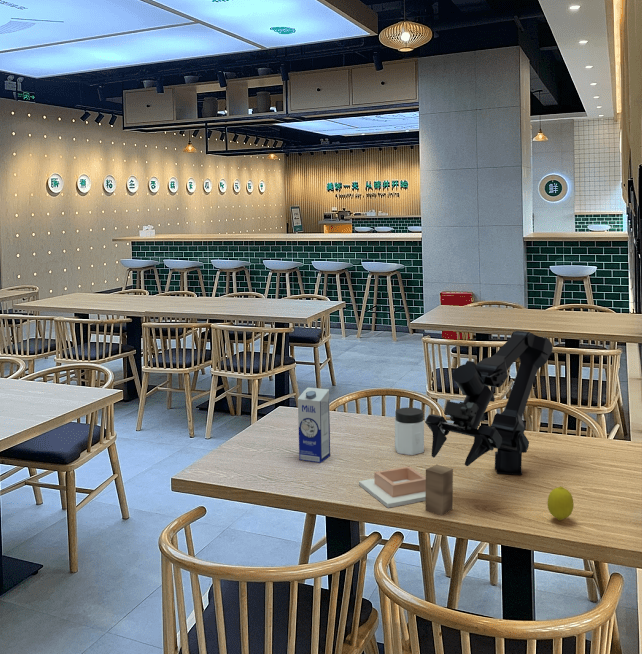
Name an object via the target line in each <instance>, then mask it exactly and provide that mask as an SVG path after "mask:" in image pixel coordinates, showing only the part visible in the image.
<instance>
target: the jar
mask: <svg viewBox="0 0 642 654" xmlns="http://www.w3.org/2000/svg"><path fill="white" fill-rule="evenodd" d="M424 417H425V416H424V410H423V409H421V408H416V407H400V408H397V409H395V417H394V449H395V451H396V453H397V454H400V455H407V456H415V455H418V454H421V453H424V452H425V421H424Z"/></svg>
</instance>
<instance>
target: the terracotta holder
mask: <svg viewBox="0 0 642 654" xmlns="http://www.w3.org/2000/svg"><path fill="white" fill-rule="evenodd" d="M373 474H374V477H373V478H369V479H364V480H359V481H358V485H359V486H360V487H361V488H362V489H363V490H364V491H366V492H367V493H369V495H371V496H372V497H373V498H374V499H376V500H377V501H378V502H380V503H381V504H382V505H383V506H385V507H386V508H387V509H389V508H394V507H400V506H404V505H405V506H406V505H411V504H414V503H419V502H421V503H422V502H426V475H423V474H422V473H420V472H418V471H417V470H416V469H415V468H413V467H410V466H402V467H396V468H391V469H390V468H389V469H385V470H377V471H374V473H373Z"/></svg>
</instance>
